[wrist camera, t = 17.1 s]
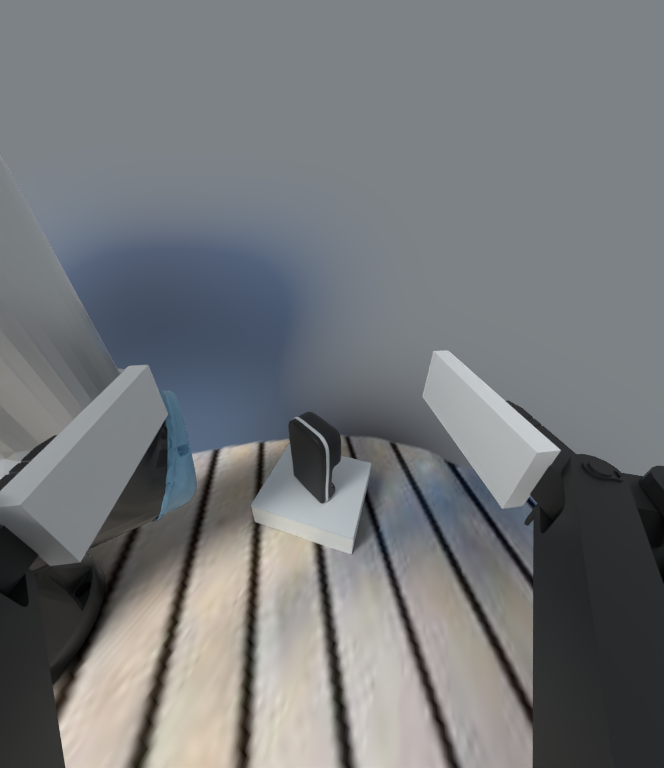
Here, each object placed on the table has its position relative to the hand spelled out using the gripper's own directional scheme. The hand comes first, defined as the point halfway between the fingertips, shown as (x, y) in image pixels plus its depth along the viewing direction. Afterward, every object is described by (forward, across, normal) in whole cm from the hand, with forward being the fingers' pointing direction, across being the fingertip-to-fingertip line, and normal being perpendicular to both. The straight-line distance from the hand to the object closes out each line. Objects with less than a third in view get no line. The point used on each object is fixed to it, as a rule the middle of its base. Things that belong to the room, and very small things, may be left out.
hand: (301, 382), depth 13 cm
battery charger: (+14, +2, -26) cm, 30 cm away
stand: (+14, +1, -30) cm, 33 cm away
